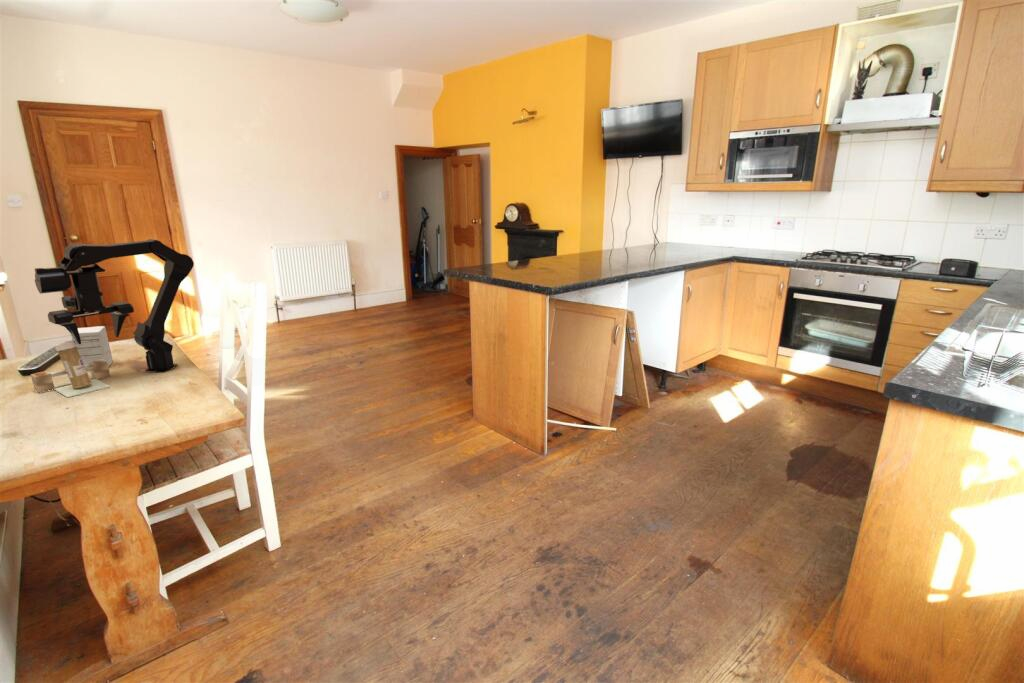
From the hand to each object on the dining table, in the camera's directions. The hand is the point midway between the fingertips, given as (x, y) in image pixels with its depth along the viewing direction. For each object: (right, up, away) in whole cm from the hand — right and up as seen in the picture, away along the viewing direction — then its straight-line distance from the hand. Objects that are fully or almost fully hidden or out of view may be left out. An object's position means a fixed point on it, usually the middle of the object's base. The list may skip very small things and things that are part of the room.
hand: (98, 340), depth 148 cm
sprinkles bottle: (-3, -13, -2) cm, 14 cm away
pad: (-3, -14, -2) cm, 15 cm away
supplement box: (-14, -9, +16) cm, 23 cm away
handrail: (-9, -13, +2) cm, 16 cm away
